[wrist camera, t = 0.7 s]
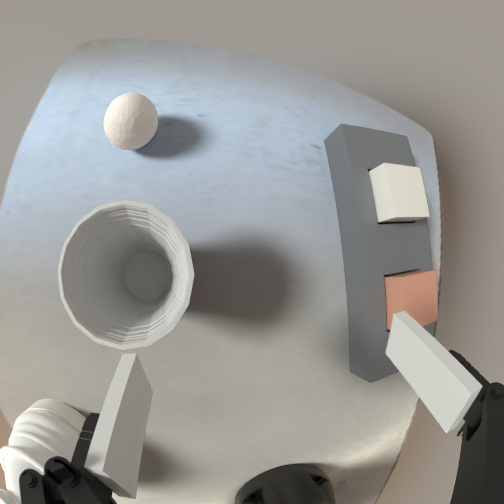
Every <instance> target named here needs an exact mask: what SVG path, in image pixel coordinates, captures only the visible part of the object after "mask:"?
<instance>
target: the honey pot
mask: <svg viewBox="0 0 504 504" xmlns="http://www.w3.org/2000/svg"><path fill="white" fill-rule="evenodd" d="M85 420H86V418H85V417H84V416H83V415H82V414H80V413H79V412H78V411H77V410H75V409H73V408H72V407H70V406H69V405H67V404H65V403H62V402H60V401H57V400H52V399H42V400H38V401H37V402H35V403H34V404H33V405H32V406H30V407H29V408H28V409H27V410H26V411H24V412H23V413H22V414H21V415H20V416H19V417H18V418H17V419H16V422H15V424H14V429H13V431H12V434H11V436H10V438H9V446H4V447H3V448H1V449H0V463H1V465H2V468H3V470H4V471H5V480H6V486H7V490H8V492H6V491H4V490H2V489H0V504H11V500H12V501H13V502H14V503H15V504H21V497H20V488H19V476H20V474H21V473H22V472H23V471H24V470H25V469H28V468H30V469H34V470H36V471H37V472H39V473H40V474H41V475H44V465H45V463H46V462H47V460H49V459H50V458H52V457H55V456H61V457H64V458H65V459H67V460H68V461H69V462H70V463H71V460H72V456H73V453H74V450H75V447H76V444H77V441H78V439H79V435H80V432H82V427H83V424H84V421H85Z"/></svg>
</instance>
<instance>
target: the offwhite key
mask: <svg viewBox="0 0 504 504" xmlns="http://www.w3.org/2000/svg"><path fill="white" fill-rule="evenodd" d="M368 173H369V177H370V182H371V187H372V192H373V198H374V203H375V209H376V215H377V222H378V223H395V222H411V221H415V220H419V219H423V218H426V217H430V216H429V210H428V204H427V199H426V194H425V190H424V185H423V181H422V176H421V172H420V168H418V167H412V166H405V165H398V164H390V163H383V164H381V165H380V166H378V167H376V168H374V169H373V170H371V171H369V172H368Z"/></svg>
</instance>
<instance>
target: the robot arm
mask: <svg viewBox="0 0 504 504" xmlns="http://www.w3.org/2000/svg"><path fill="white" fill-rule="evenodd" d="M386 355H387V356H388V357H389V358H390V360H391V361H392V362H393V364H394V365H395V366H396V367H397V369H398V370H399V371H400V372H401V374H402V375H403V376H404V378H405V379H406V380H407V381H408V383H409V384H410V385H411V387H412V388H413V389H414V391H415V392H416V393H417V395H418V396H419V397H420V399H421V400H422V401H423V402H424V404H425V405H426V407H427V408H428V409H429V410H430V412H431V413H432V415H433V416H434V417H435V419H436V420H437V421H438V423H439V424H440V426H441V427H442V428H443V430H444V431H445V432H446V433H448V432H449V431H451V430H452V429H454V428H456V427H457V426H458V425H459V423H460V422H461V420H462V419H464V420H465V421H466V422H465V423H464V425H463V426H462V428H461V429H460V431H459V432H458V434H457V436H459V435H460V434H461V432H462V431H463V434H462V445H461V453H460V460H459V466H458V472H457V477H456V482H455V486H454V491H453V495H452V499H451V502H450V504H504V385H502V384H501V383H497V382H495V383H491V384H490V383H489V382H488V381H487V380H486V379H485V378H484V377H483V376H482V375H480V373H479V372H478V371H477V370H476V369H475V368H474V367H473V366H471V364H470V363H469V362H468V361H466V359H465V358H464V357H463V356H461V355H460V354H459V353H457V352H455V351H453V350H450V351H447V350H446V349H445V348H444V347H443V346H442V345H441V344H440V343H439V342H438V341H437V340H436V339H435V338H434V337H433V336H432V335H431V334H429V333H428V332H427V331H426V330H425V329H424V328H423V327H422V326H421V325H420V324H419V323H418V322H417V321H415V320H414V319H413V318H412V317H411V316H410V315H409V314H408V313H407V312H406V311H402V312H398V313H395V314H394V315H393V320H392V325H391V330H390V335H389V340H388V344H387V348H386ZM152 394H153V390H152V388H151V386H150V384H149V382H148V379H147V377H146V375H145V373H144V370H143V368H142V366H141V363H140V361H139V358H138V356H137V353H135V354H122V357H121V359H120V362H119V364H118V367H117V370H116V372H115V375H114V377H113V380H112V383H111V385H110V388H109V391H108V393H107V396H106V399H105V402H104V405H103V407H102V410H101V413H100V414H98V413H91V414H90V415H89V416H88V417H87V419H86V420H85V421H84V424H83V427H82V432H80V435H79V439H78V441H77V444H76V447H75V450H74V453H73V456H72V460H71V463H70V462H69V461H68V460H67V459H65V458H64V457H61V456H55V457H52V458H50V459H49V460H47V462H46V463H45V465H44V475H41V474H40V473H39V472H37V471H36V470H34V469H30V468H28V469H25V470H24V471H23V472H22V473H21V474H20V476H19V488H20V497H21V504H117V503H116V502H115V500H114V499H113V498H112V492H114V493H116V494H117V495H118V496H121V497H127V498H134V499H136V492H137V483H138V476H139V469H140V462H141V455H142V449H143V443H144V437H145V431H146V425H147V420H148V414H149V409H150V404H151V399H152ZM235 504H336V503H335V498H334V493H333V488H332V484H331V482H330V480H329V478H328V477H327V476H326V475H325V473H324V472H323V471H322V470H321V469H319V468H317V467H315V466H311V465H304V464H295V465H287V466H282V467H278V468H275V469H272V470H269V471H266V472H264V473H262V474H260V475H258V476H256V477H254V478H253V479H251V480H250V481H248V482H247V483H246V484H245V485H244V486H243V487H242V488H241V489H240V490H239V491H238V493H237V495H236V498H235Z"/></svg>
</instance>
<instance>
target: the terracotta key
mask: <svg viewBox="0 0 504 504" xmlns="http://www.w3.org/2000/svg"><path fill="white" fill-rule="evenodd" d="M384 283H385V298H386V323H387V329H388V330H391V325H392V320H393V315H394V314H395V313H398V312H402V311H406V312H407V313H408V314H409V315H410V316H411V317H412V318H413V319H414V320H415V321H417V322H418V323H419V324H420V325H421V326H425V325H427V324H430V323H432V322H435V321H437V320H438V293H437V274H436V270H422V271H412V272H407V273H402V274H397V275H391V276H386V277H384Z"/></svg>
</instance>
